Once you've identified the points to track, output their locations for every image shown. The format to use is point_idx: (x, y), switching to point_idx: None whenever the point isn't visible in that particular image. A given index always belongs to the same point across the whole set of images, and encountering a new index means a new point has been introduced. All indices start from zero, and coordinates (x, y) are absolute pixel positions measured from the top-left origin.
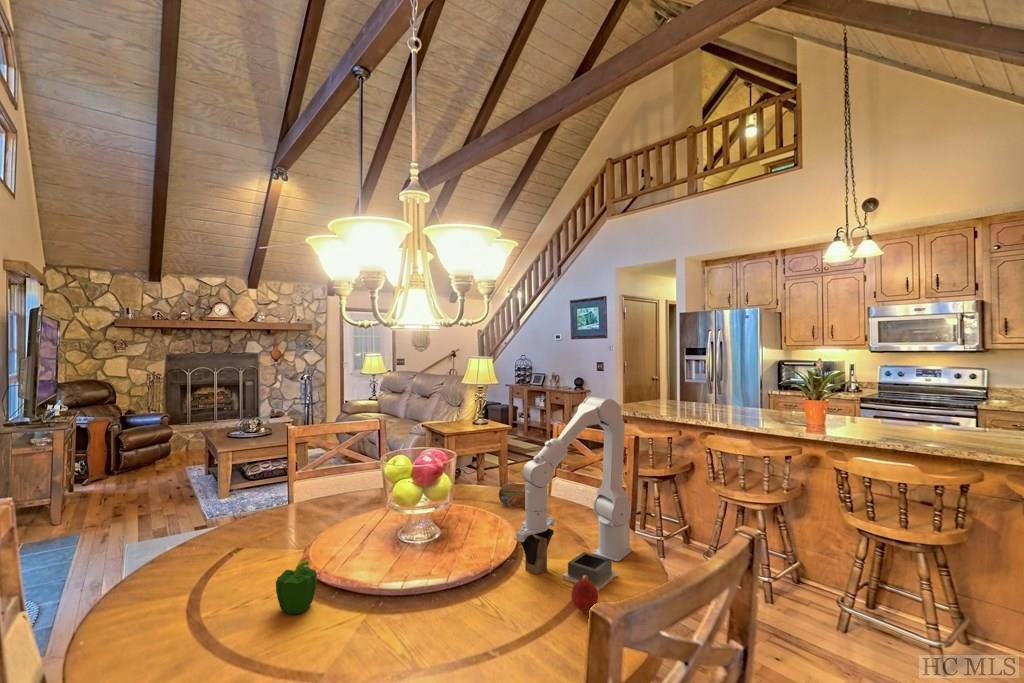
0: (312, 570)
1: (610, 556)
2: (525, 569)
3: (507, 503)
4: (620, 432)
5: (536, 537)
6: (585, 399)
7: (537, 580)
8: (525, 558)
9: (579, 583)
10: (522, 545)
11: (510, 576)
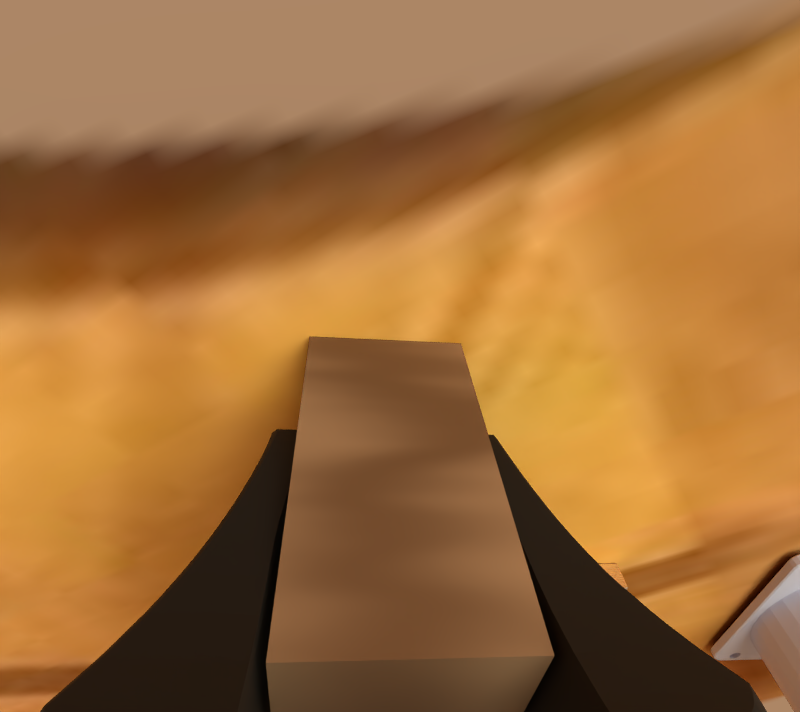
0: None
1: (751, 634)
2: (310, 342)
3: None
4: None
5: (457, 705)
6: None
7: (231, 479)
8: (300, 415)
9: None
10: (155, 612)
11: (100, 289)
